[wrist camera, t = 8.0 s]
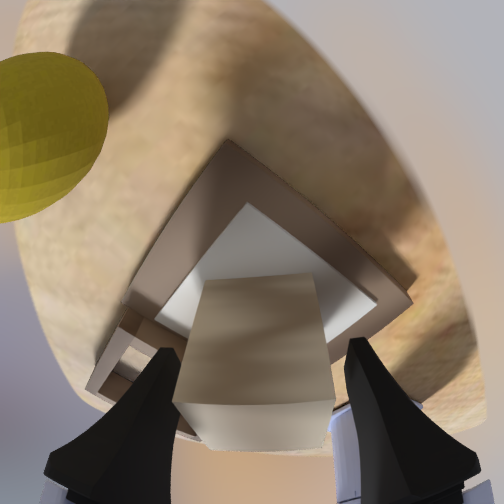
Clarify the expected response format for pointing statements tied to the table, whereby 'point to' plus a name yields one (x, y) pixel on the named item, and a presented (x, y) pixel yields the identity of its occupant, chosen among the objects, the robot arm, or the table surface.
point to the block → (257, 366)
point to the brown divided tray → (245, 266)
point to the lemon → (46, 130)
